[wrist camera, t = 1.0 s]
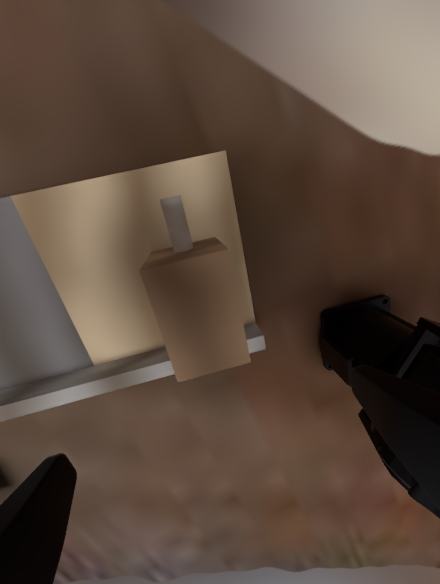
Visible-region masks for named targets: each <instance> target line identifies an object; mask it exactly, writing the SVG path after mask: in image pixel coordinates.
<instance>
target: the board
mask: <svg viewBox="0 0 440 584" xmlns="http://www.w3.org/2000/svg"><path fill="white" fill-rule="evenodd" d="M177 195H181V199H182V203H183V207H184V211H185V215H186V219H187V223H188V227H189V231H190V235H191V239H192V242H196V241H200V240H204V239H209V238H213V237H216V238H217V239H218V240H219V241H220V242H221V243H223V244H224V245H225V246H226V247H227V248H228V249H229V253H230V258H231V263H232V268H233V273H234V278H235V283H236V288H237V294H238V299H239V304H240V309H241V314H242V319H243V324H244V329H245V334H246V339H247V344H248V349H249V353H253V352H256V351H260V350H263V349H266V346H265V340H264V335H263V333H262V332H261V330H260V329H259V327H258V326H257V324H256V322H255V316H254V310H253V304H252V299H251V293H250V287H249V281H248V276H247V270H246V264H245V259H244V253H243V247H242V241H241V236H240V230H239V224H238V219H237V213H236V207H235V201H234V196H233V190H232V184H231V179H230V173H229V167H228V161H227V156H226V150H225V151H221V152H216V153H211V154H206V155H202V156H197V157H192V158H188V159H183V160H178V161H173V162H169V163H164V164H159V165H155V166H150V167H145V168H140V169H136V170H131V171H126V172H122V173H117V174H112V175H107V176H103V177H98V178H93V179H89V180H84V181H79V182H74V183H70V184H65V185H60V186H56V187H51V188H46V189H41V190H37V191H32V192H27V193H22V194H18V195H13V196H8V197H4V198H0V422H1V421H5V420H8V419H12V418H16V417H19V416H23V415H27V414H30V413H34V412H38V411H41V410H45V409H49V408H52V407H56V406H59V405H63V404H67V403H70V402H74V401H78V400H81V399H85V398H89V397H92V396H96V395H100V394H103V393H107V392H110V391H114V390H118V389H121V388H125V387H129V386H132V385H136V384H140V383H143V382H147V381H151V380H154V379H158V378H161V377H165V376H169V375H172V374H175V373H174V370H173V367H172V364H171V361H170V358H169V355H168V353H167V350H166V347H165V344H164V341H163V338H162V335H161V332H160V330H159V327H158V324H157V321H156V318H155V315H154V312H153V309H152V307H151V304H150V301H149V298H148V295H147V292H146V289H145V286H144V284H143V281H142V278H141V275H140V272H139V270H140V269H141V267H142V266H143V264H144V263H145V261H146V259H147V258H148V256H149V255H150V253H151V252H154V251H158V250H162V249H166V248H171V247H173V246H172V242H171V239H170V235H169V232H168V228H167V225H166V221H165V218H164V214H163V211H162V207H161V204H160V199H164V198H168V197H172V196H177Z"/></svg>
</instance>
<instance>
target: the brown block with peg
mask: <svg viewBox="0 0 440 584" xmlns="http://www.w3.org/2000/svg"><path fill="white" fill-rule="evenodd" d="M160 204H161V207H162V211H163V214H164V218H165V221H166V225H167V228H168V232H169V235H170V239H171V242H172V246H173V247H171V248H166V249H162V250H158V251H154V252H151V253H150V255H149V256H148V258H147V259H146V261H145V263H144V264H143V266H142V267H141V269H140V270H139V272H140V275H141V278H142V281H143V284H144V286H145V289H146V292H147V295H148V298H149V301H150V304H151V307H152V309H153V312H154V315H155V318H156V321H157V324H158V327H159V330H160V332H161V335H162V338H163V341H164V344H165V347H166V350H167V353H168V355H169V358H170V361H171V364H172V367H173V370H174V373H175V375H176V378H177V381H178V382H182V381H185V380H189V379H193V378H196V377H200V376H204V375H207V374H211V373H214V372H218V371H222V370H225V369H229V368H232V367H236V366H240V365H243V364H247V363H250V362H251V360H250V355H249V349H248V344H247V339H246V334H245V329H244V324H243V319H242V314H241V309H240V304H239V299H238V294H237V288H236V283H235V278H234V273H233V268H232V263H231V258H230V253H229V249H228V248H227V247H226V246H225V245H224V244H223V243H221V242H220V241H219V240H218V239H217V238H216V237H213V238H209V239H204V240H200V241H196V242H192V239H191V235H190V231H189V227H188V223H187V219H186V215H185V211H184V207H183V203H182V199H181V195H177V196H172V197H168V198H164V199H160Z"/></svg>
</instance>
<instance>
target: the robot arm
mask: <svg viewBox="0 0 440 584" xmlns="http://www.w3.org/2000/svg"><path fill="white" fill-rule="evenodd" d="M383 300H384V301H383ZM328 314H329V315H328ZM327 315H328V317H326V316H327ZM417 324H418V325H417V327H416V326H414V325H412V324H410V323H408V322H406V321H404V320H402V319H400V318H399V317H397V316H395V315H393V314H391V313H390V298H389V297H388V296H386V295H380V296H376V297H373V298H369V299H365V300H361V301H358V302H354V303H350V304H347V305H343V306H339V307H335V308H332V309H328V310H325V311H323V312H322V314H321V329H322V334H321V336H320V338H321V354H322V358H323V362H324V367H325V368H326V369H327V370H334V371H335V372H336V373H337V374H338V375H339V376H340V377H341V378H342V379H343V381H344V382H345V383H346V384H347V385H349V386H350V387H352V391H353V394H354V395H355V397H356V398H357V400H358V401H359V403H360V404H361V406H362V407H363V409H361V411H360V413H359V414H358V415H359V417H360V419H361V421H362V423H363V425H364V427H365V429H366V431H367V433H368V435H369V437H370V438H371V440H372V442H373V444H374V446H375V448H376V450H377V452H378V454H379V456H380V458H381V460H382V461H383V463H384V465H385V466H386V468H387V469H388V471H389V473H390V474H391V475H392V477H393V478H395V479H396V480H397V481H398V482H399V483H400V484H401V485H402V486H403V487H404V488H405V489H406V490H407V491H408V494H409V495H410V496H411V497H412V498H413V499H414V500H416V501H417V502H419V503H420V504H421V505H423V506H424V507H426V508H427V509H428V510H430V511H431V512H433V513H434V514H435V515H436V516H437V517H438V518H440V323H437V322H434V321H431V320H428V319H425V318H422V317H420V319H419V320H418V322H417ZM76 479H77V473H76V470H75V468H74V467H73V465H72V464H71V462H70V461H69V459H68V458H67V456H66V455H65V454H63V453H60V454H57V455H53V456H50V457H48V458H46V459H45V460H44V461H43V462H42V463H41V464H40V465H39V466H38V467H37V468H36V469H35V470H34V471H33V472H32V473H31V474H30V475H29V476H28V478H27V479H26V480H25V481H24V482H23V483H22V484H21V485H20V486H19V487H18V488H17V489H16V490H15V491H14V492H13V493H12V494H11V495H10V496H9V497H8V498H7V499H6V500H5V501H4V502H3V503H2V504H1V505H0V584H53V581H54V578H55V574H56V570H57V567H58V563H59V560H60V556H61V552H62V548H63V544H64V540H65V535H66V530H67V525H68V520H69V515H70V510H71V505H72V500H73V495H74V490H75V485H76Z"/></svg>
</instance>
